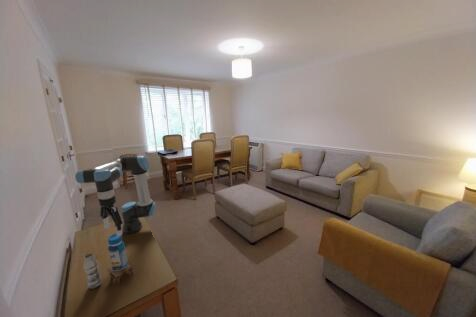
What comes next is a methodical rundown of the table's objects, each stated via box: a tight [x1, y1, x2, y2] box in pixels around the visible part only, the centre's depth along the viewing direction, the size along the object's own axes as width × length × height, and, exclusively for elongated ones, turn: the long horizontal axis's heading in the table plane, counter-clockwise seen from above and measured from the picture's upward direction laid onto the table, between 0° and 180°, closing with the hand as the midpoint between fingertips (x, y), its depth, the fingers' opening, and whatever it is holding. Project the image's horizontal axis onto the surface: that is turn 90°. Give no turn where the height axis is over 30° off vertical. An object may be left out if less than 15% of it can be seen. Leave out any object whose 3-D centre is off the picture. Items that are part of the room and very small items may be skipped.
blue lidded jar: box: [107, 233, 129, 271], centre depth 115 cm, size 8×8×20 cm
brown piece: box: [106, 259, 134, 286], centre depth 118 cm, size 10×10×7 cm
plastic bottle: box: [83, 253, 103, 290], centre depth 111 cm, size 6×7×20 cm
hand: (113, 231), depth 112 cm, fingers open, 13 cm apart
